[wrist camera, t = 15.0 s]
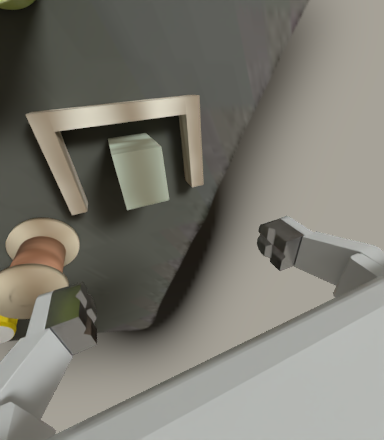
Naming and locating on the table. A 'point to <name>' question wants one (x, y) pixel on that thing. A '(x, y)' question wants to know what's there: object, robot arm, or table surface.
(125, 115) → the beige u-shaped bracket
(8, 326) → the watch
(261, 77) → the table surface
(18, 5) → the plant pot
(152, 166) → the block
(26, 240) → the bobbin
